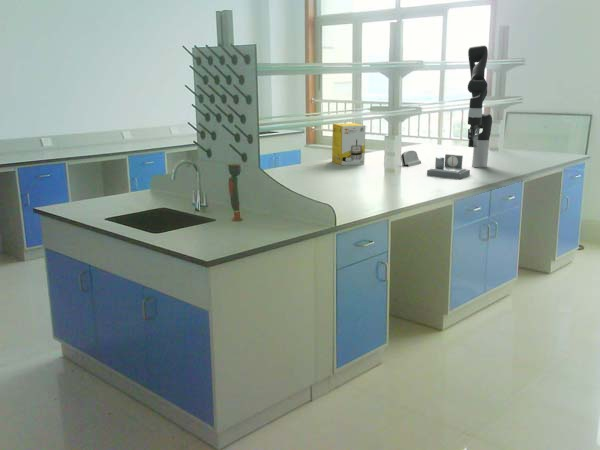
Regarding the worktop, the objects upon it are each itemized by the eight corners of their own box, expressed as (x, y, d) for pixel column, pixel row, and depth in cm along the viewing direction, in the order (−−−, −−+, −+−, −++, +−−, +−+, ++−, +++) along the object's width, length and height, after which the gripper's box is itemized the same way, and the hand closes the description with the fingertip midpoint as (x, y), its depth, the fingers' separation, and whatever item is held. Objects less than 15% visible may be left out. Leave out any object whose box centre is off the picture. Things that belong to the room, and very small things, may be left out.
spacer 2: (469, 145, 350) (470, 135, 348) (478, 146, 347) (479, 136, 346) (466, 146, 346) (467, 136, 344) (475, 147, 343) (476, 137, 342)
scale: (437, 171, 367) (438, 153, 364) (469, 174, 356) (471, 156, 353) (426, 175, 354) (428, 156, 351) (459, 178, 343) (461, 159, 340)
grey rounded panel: (408, 166, 383) (404, 151, 383) (402, 168, 387) (398, 153, 386) (421, 163, 396) (417, 148, 395) (415, 165, 399) (411, 150, 399)
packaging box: (354, 160, 407) (355, 123, 401) (364, 164, 392) (365, 125, 386) (332, 161, 402) (332, 123, 396) (341, 165, 387) (342, 126, 381)
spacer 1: (437, 166, 358) (437, 156, 357) (445, 167, 356) (445, 157, 354) (433, 168, 354) (434, 158, 353) (441, 168, 352) (442, 158, 350)
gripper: (472, 115, 350) (470, 144, 354) (464, 116, 338) (462, 146, 343) (485, 115, 346) (482, 145, 350) (477, 117, 334) (474, 147, 339)
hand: (472, 145), depth 346 cm, fingers closed on spacer 2, 5 cm apart
